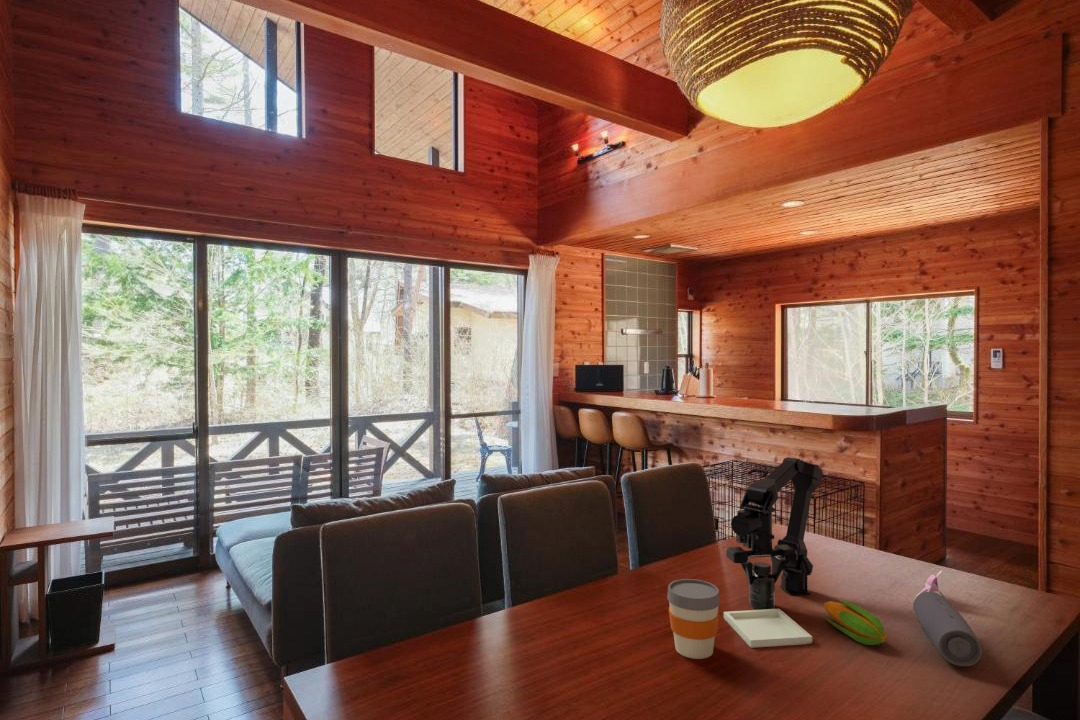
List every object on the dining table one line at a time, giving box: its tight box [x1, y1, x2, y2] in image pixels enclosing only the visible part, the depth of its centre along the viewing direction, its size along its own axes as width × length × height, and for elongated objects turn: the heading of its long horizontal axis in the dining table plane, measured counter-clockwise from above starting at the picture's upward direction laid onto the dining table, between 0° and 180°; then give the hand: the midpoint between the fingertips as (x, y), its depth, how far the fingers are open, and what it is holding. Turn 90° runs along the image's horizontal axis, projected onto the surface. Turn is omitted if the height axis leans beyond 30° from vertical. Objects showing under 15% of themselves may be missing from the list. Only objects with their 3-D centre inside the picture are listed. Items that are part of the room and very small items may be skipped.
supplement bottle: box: [748, 561, 776, 610], centre depth 165 cm, size 7×7×12 cm
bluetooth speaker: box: [912, 591, 983, 667], centre depth 140 cm, size 23×9×10 cm, turn 160°
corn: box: [823, 599, 888, 646], centre depth 149 cm, size 7×8×20 cm
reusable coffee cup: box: [666, 578, 721, 660], centre depth 141 cm, size 13×13×15 cm
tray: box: [723, 608, 813, 649], centre depth 151 cm, size 16×16×2 cm
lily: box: [913, 568, 947, 601], centre depth 167 cm, size 12×12×10 cm
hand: (761, 583), depth 165 cm, fingers closed on supplement bottle, 7 cm apart
